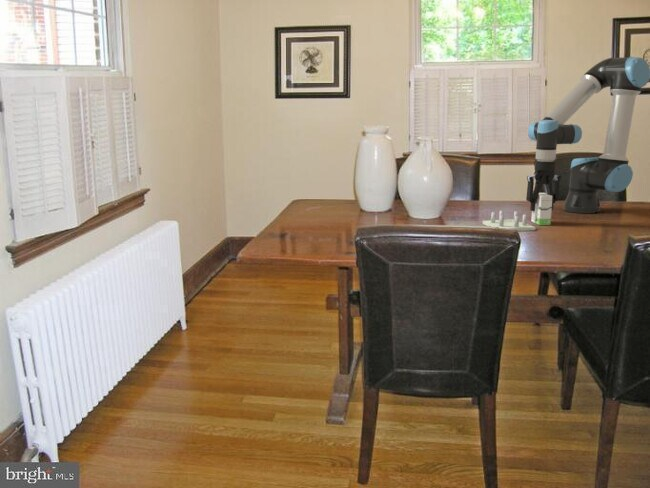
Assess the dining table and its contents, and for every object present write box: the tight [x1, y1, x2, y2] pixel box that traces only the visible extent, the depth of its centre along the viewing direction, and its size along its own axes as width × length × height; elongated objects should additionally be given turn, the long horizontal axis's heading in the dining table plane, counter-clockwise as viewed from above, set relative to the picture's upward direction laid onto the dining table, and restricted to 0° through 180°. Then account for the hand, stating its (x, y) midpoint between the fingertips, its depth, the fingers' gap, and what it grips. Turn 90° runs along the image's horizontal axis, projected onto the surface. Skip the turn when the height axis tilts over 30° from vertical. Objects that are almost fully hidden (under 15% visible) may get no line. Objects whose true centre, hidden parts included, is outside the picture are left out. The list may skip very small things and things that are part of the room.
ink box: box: [530, 192, 553, 226], centre depth 277 cm, size 9×5×12 cm, turn 6°
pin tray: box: [482, 210, 536, 232], centre depth 271 cm, size 14×16×5 cm
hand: (540, 218), depth 278 cm, fingers closed on ink box, 5 cm apart
